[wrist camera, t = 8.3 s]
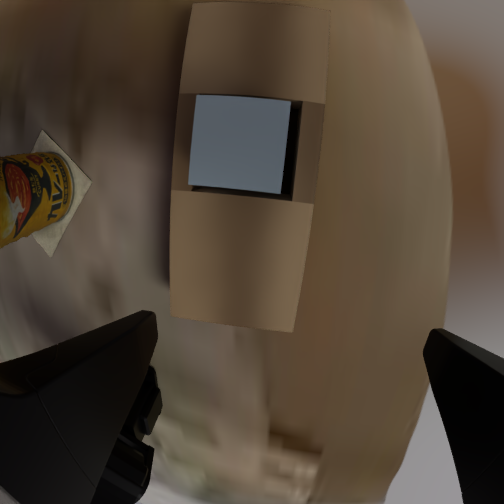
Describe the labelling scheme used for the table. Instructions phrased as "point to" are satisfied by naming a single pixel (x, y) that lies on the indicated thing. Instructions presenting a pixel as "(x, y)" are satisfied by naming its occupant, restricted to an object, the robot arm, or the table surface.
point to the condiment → (39, 194)
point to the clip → (239, 143)
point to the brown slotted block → (237, 200)
